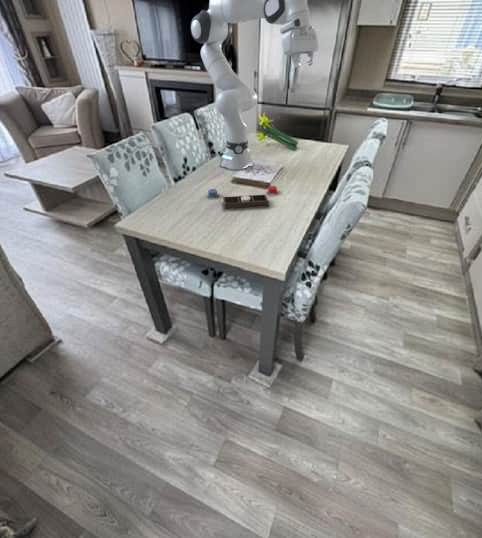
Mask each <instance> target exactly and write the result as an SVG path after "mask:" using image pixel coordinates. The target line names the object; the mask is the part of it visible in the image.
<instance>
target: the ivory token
mask: <svg viewBox="0 0 482 538" xmlns="http://www.w3.org/2000/svg"><path fill="white" fill-rule="evenodd" d="M241 196H242V197H241V202H250V197H249V195H241Z"/></svg>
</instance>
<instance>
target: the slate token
mask: <svg viewBox="0 0 482 538" xmlns="http://www.w3.org/2000/svg"><path fill="white" fill-rule="evenodd" d="M207 193H208V197H210V198H216V197H218V190H217V189H215V188H210V189H208V191H207Z"/></svg>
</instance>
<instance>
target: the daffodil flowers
mask: <svg viewBox="0 0 482 538" xmlns="http://www.w3.org/2000/svg"><path fill="white" fill-rule="evenodd" d="M257 115H258V118H259V120H260V121H259V122H258V124H259V126H260V125H261V126H263V128H261V129H260V128H257V130H255V132H256V133H258V134H256V135H254V137H256V138H258V141H259V142H261V143H263V142H264V141H265V143H267V141H269V140H274V141H276V142H277V143H279V144H281V145H283V146H285V147H287V148H289V149H290V150H293V151H295V150H296V149H297V146H298V145H299V142H300V140H299V139H297V138H295V137H293V136H291V135H288V134H286V133H284V132H281V131H280V130H278V129H277V128H276V127H275V126H274V124H273V122H274V121H275V119H268V116H266V112H263V114H262V116H261V115H260V114H259V113H258V114H257ZM263 130H266V131H267V132H268V133H267V132H265V131H263ZM266 146H268V144H266Z"/></svg>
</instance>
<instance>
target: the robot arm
mask: <svg viewBox="0 0 482 538" xmlns="http://www.w3.org/2000/svg"><path fill="white" fill-rule="evenodd" d="M310 15H311V14H310V9H309V6H308V0H209V3H208V9H207V10H205V9H202V10H200V12H199V13H198V14H196V15H195V16H193V18H192V19H191V22H190V34H191V36H192V38H193V40H194V41H195V42H196V43H199V44H203V45H202V47H201V48H200V57H201V60H202V63H203V65H204V67H205V70H206V71H207V73H208V75H209V77H210V79H211V80H212V82H213V85H214V86H215V87H216V88H217V89H218V90H221V92H219V93H218V94H217V95H216V97H215V108H216V110H217V111H218V113H219V114H221V116H222V117H223V119H224V123H225V126H226V143H225V144H226V149H225V150H224V151H222V152H218V155H220V156H221V157H222V161H221V167H222V168H226V169H229V170H232V171H242V169H243V167H245V166H246V165H248V164H249V163H251V162H252V157H251V156H252V155H251V150H250V149H249V140H248V125H247V123H246V122H245V121H244V120H243V118H242V113H245V112H248V111H250V110H252V109H254V108H255V107H256V105H257V103H258V96H257V95H258V94H257V93H256V90H254V89H253V88H252V87H250V86H248V85H247V84H246V83H244V82H243V81H242V80H241V78H239V76H238V75H237V74H236V73H235V72H234V70H233V69H232V67H231V64H230V63H229V62H228V59H227V58H226V56H225V55H224V53H223V49H222V48H225V47H226V46H227V44H228V42H229V40H230V39H231V37H232V34H233V24H240V23H245V22H249V21H254V20H258V19H264V20H265V21H266V22H267V23H268V24H271V25H280V26H279V32H280V34H281V36H280V39H281V46H282V50H283V51H282V52H283V53H284V55H285V56H290V59H291V61H292V62H293V67H294V68H300V66H301V64H300V60H299V59H298V55H303V54H307V61H306V64H307V66H308V67H309V66H310V67H311V66H313V64H314V61H313V59H314V53H316V52H317V51H319V40H318V36H317V32H316V29H315V28H314V27H313V25H312V24H311V17H310ZM243 170H244V169H243Z"/></svg>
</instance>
